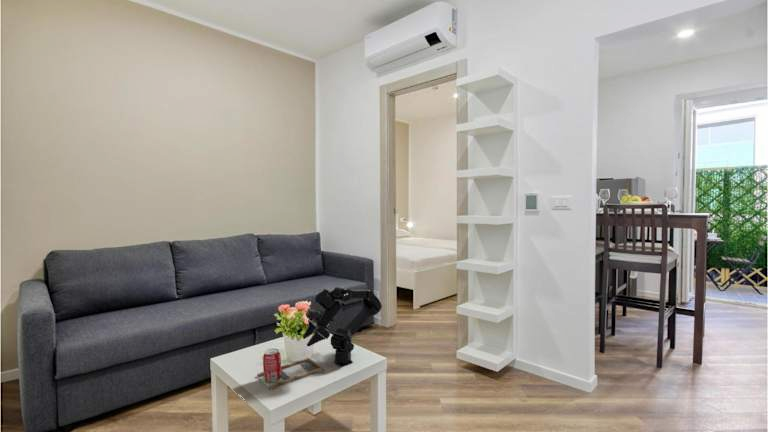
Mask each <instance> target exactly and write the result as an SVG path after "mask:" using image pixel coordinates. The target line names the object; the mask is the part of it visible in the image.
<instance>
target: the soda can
mask: <svg viewBox="0 0 768 432" xmlns="http://www.w3.org/2000/svg"><path fill="white" fill-rule="evenodd" d="M281 358H282V357H281V352H280V350H279V349H278V348H268V349H266V350H265V351H264V353H263V357H262V369H263V371H262V372H264V380H265V381H267V382H276V381H278V380H279V379H280V378H281V366H282V359H281Z"/></svg>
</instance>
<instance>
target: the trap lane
mask: <svg viewBox="0 0 768 432" xmlns="http://www.w3.org/2000/svg"><path fill="white" fill-rule="evenodd" d="M306 362H308V363H310V364H311V365H312V366H314V367H315V368H317V369H316V370H313V371H310V372H309V371H308V372H305V373H302V374H299V375H296V376H293V377H290V379H287V380H284V381H281V382H278V383H275V384H272V385H269V387H268V390H273V389H276V388H278V387H282V386H284V385H286V384H287V385H288V384H289V383H293V382H296V381H298V380H302V379H304V378H307V377H309V376H312V375H316V374H319V373H321V372H323V371H324V368H323V367H322V366H321V365H320V364H319V363H317V362H315V361H314V360H313V359H311V358H310V357H307V359H306V358H303V359H300V360H296V361H293V362H291V363H287V364H284V365H281V370H282V371H283V370H286V369H289V368H293V367H295V366H298V365H301V364H303V363H306ZM256 375H257V376H256V377H257V378H259V377H263V376H264V372H263V371H262V372H259V373H258V372H257V374H256Z"/></svg>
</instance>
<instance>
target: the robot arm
mask: <svg viewBox="0 0 768 432" xmlns="http://www.w3.org/2000/svg"><path fill="white" fill-rule="evenodd" d="M352 299H353V300H354V299H362V300H361V301H362V309H361V311H360V312H359V313H358V314H356V316H355V317H354V318H353V319H352V320H351V321H350V322H349V323H348V324H347V325H346V326H345V327H344V328H342V327H341V328H340V327H338V328H337V329H336V331H334V332H333V333H332V335H331V334H330V331H329V330H328V326H329V325H330V323H334V321H335V317H336V316H338V314H339V313H340V312H341V311H343V312H345V311H346V305H345V304H344V302H345V303H346V302H349V301H351V300H352ZM315 303H316V304H318V305H319V306H320V307H322V308H323V309H320V310H315V309H312V308H307V310H306V312H305V317H306V319H307V323H308V324H307V328H306V330H305V331H304V334H303V336H302V338H303V339H304V340H305V339H307V338H309V337H310V336H311V337H310V339H309V340H308V342H307V343H306V346H307V347H310V346H313V345H315V344H317V343H319V342H321V341H325V340H328V339H329V337H330V345H331V347H332V349H333V350H335V353H334V361H333V363H335V364H337V365H338V366H339V367H346V366H348V365H350V364H353V363H354V361H353V360H352V353H351V352H352V351H353V350H354V348H355V345H354V344H353V343H352V341H353V340H352V339H353V335H355V334H356V333H357V331H358V330H359V329H360V328H362V326H363V325H364V323H366V321H367V320H369V318H370V317H372V316H376V315H377V314H379V313H380V311H381V309H382V303H381V301H380V299H379V297H377V296H376V295H375V294H374V292H373V290H371V289H367V288H366V289H365V288H363V289H348V288H345V287H339V286H337V287H334V288H333V290H331V291H329V289H327V288H326V289H325V288H323V290H322V291H320V292H319V293H317V295H316V296H315ZM308 318H309V319H308Z"/></svg>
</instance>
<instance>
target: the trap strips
mask: <svg viewBox="0 0 768 432" xmlns="http://www.w3.org/2000/svg"><path fill="white" fill-rule="evenodd" d="M300 366H301V367H303V368H304V369H306V371H308V372H310V371H313V370H316V369H317V368H316V367H314V366H313V365H312V364H310V363H309V362H304V363H301V364H300ZM290 378H291V377H290V376H289V375H287V373H285V371H283V370H281V379H283V380H287V379H290Z"/></svg>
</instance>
